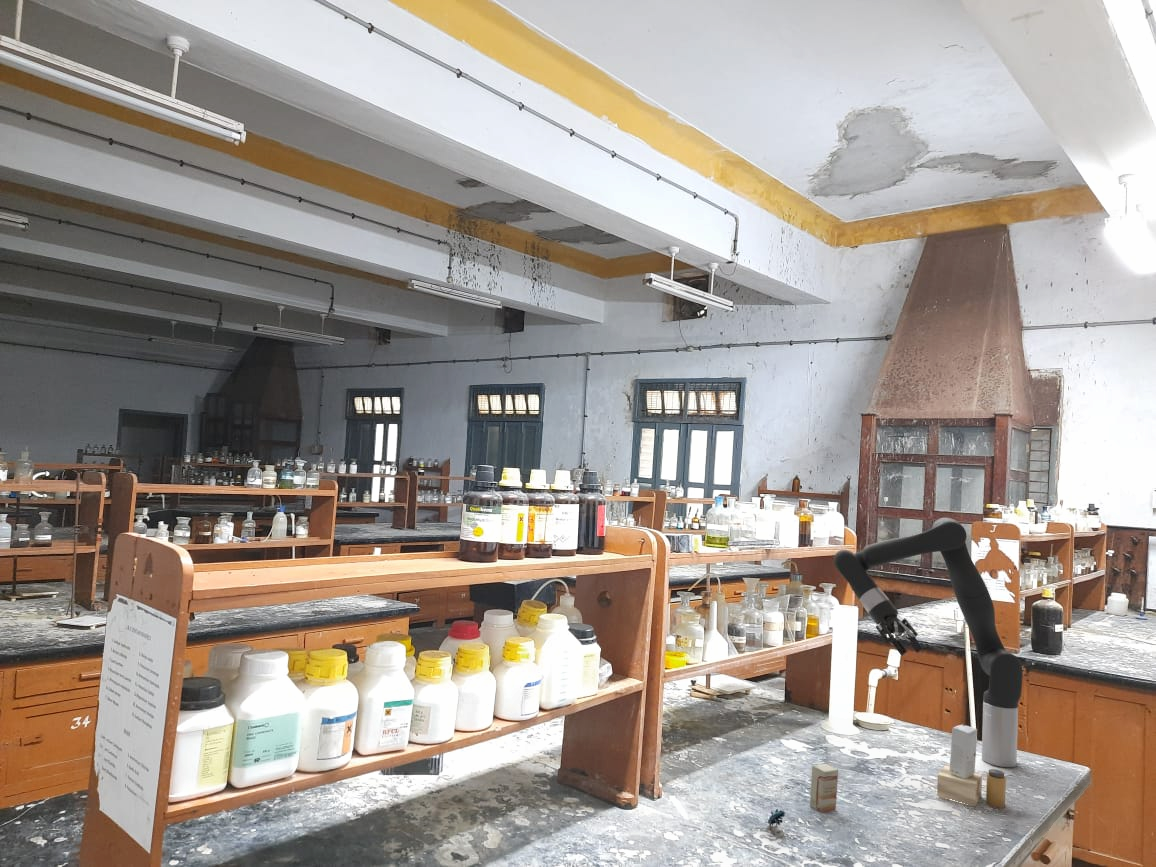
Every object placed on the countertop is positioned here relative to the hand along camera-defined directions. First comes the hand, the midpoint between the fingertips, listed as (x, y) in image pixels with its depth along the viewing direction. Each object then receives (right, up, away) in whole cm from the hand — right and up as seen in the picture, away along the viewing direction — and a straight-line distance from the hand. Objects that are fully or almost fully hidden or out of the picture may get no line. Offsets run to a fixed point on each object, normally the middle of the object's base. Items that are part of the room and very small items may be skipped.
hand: (912, 652), depth 225 cm
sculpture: (-53, -28, -49) cm, 77 cm away
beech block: (+3, -32, -22) cm, 39 cm away
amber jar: (+10, -32, -26) cm, 43 cm away
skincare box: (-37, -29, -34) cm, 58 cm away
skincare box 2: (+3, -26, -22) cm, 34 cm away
